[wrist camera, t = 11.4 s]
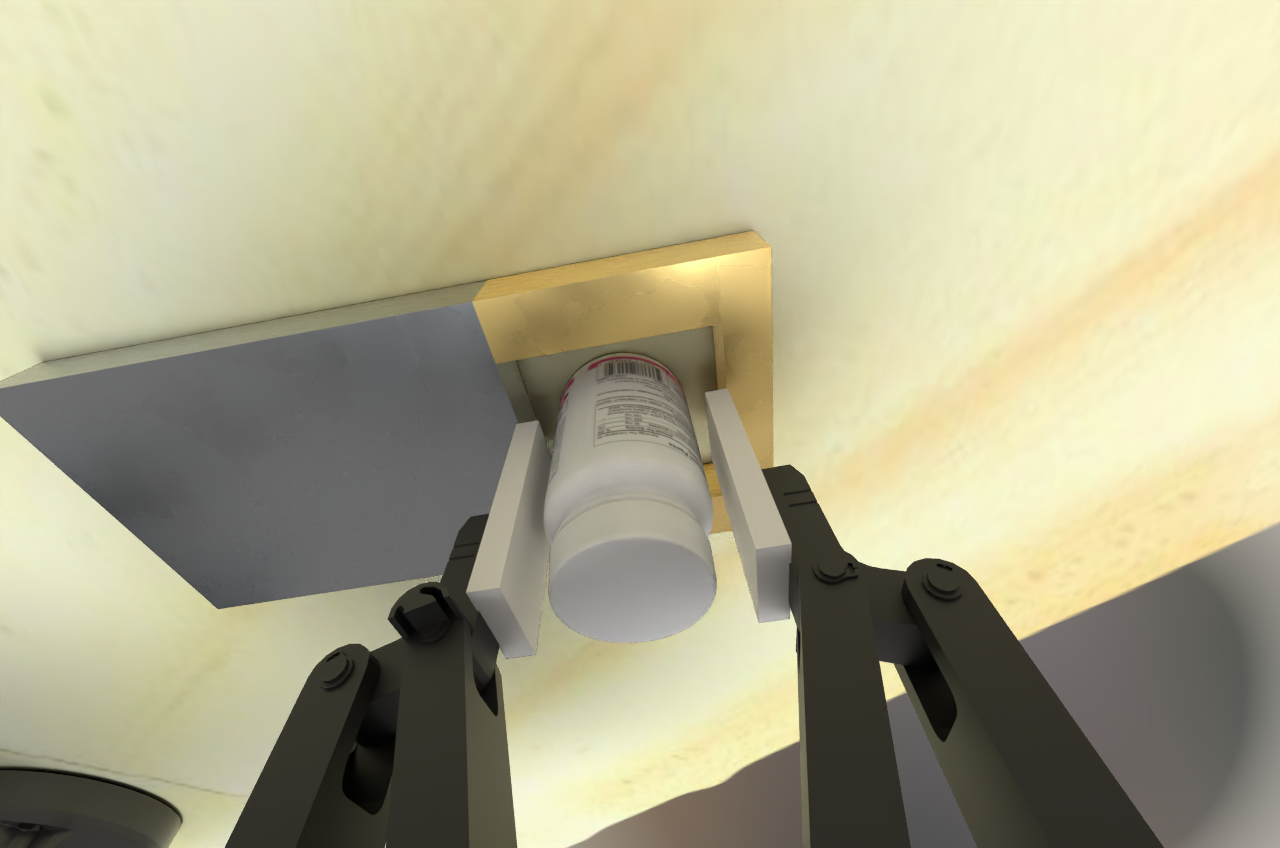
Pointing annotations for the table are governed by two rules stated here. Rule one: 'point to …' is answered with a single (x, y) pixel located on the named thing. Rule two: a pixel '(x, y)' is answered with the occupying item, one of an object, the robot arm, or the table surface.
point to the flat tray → (369, 415)
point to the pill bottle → (628, 505)
